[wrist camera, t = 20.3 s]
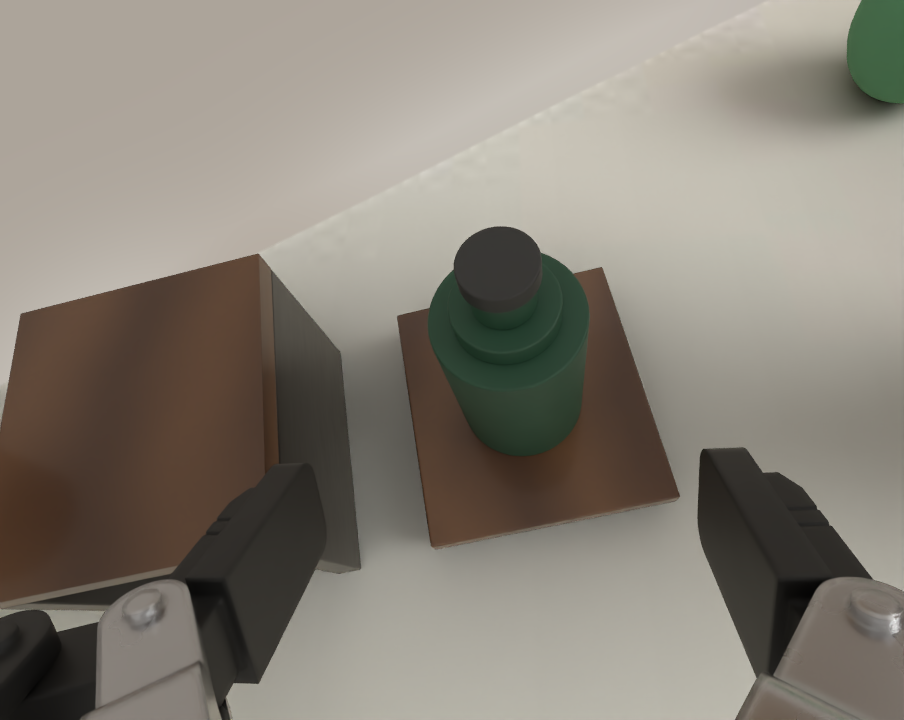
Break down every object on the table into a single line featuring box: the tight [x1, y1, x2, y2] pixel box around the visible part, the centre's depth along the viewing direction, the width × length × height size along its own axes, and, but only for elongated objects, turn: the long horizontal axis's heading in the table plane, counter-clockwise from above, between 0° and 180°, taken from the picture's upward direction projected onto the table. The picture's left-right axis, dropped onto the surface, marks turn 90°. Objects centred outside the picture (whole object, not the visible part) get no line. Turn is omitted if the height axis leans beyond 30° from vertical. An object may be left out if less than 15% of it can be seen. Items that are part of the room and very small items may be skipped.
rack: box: [0, 254, 680, 611], centre depth 26 cm, size 26×12×10 cm, turn 100°
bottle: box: [427, 227, 590, 456], centre depth 22 cm, size 6×6×12 cm
